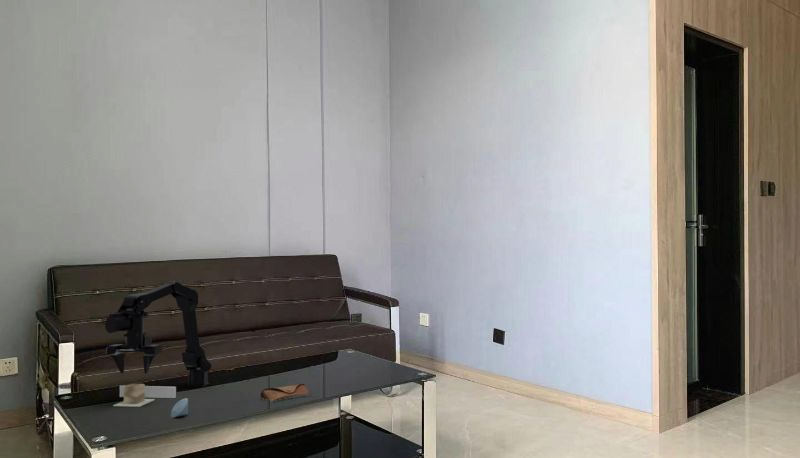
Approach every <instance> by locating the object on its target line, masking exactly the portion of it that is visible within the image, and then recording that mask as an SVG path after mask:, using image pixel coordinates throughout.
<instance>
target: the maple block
mask: <svg viewBox="0 0 800 458" xmlns="http://www.w3.org/2000/svg"><path fill="white" fill-rule="evenodd" d="M124 386H125V387H124V397H123V401H124V404H138V403H140V402H143V401H145V399H146V397H145V386H146V385H145V383H129V384H127V385H124Z"/></svg>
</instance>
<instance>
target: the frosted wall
mask: <svg viewBox="0 0 800 458" xmlns="http://www.w3.org/2000/svg"><path fill="white" fill-rule="evenodd" d="M125 386H126V385H119V398H124V387H125ZM145 398H148V399H153V398H155V399H156V398H158V399H160V398H161V399H176V398H177V386H160V385H157V386H155V385H152V386H150V385H145Z"/></svg>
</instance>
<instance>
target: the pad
mask: <svg viewBox="0 0 800 458" xmlns="http://www.w3.org/2000/svg"><path fill="white" fill-rule="evenodd" d="M155 399H156V398H155ZM155 399H153V398H145V401H143V402H140V403H138V404H124V400H123V401H120V402H118V403H115V404H113V405H112V406H113V407H130V408H131V407H132V408H133V407H134V408H140V407H142V406H144V405H147V404H149V403H151V402H154V401H155Z"/></svg>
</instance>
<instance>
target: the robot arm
mask: <svg viewBox="0 0 800 458" xmlns="http://www.w3.org/2000/svg"><path fill="white" fill-rule="evenodd" d="M169 295H170V296H171V297H172V298H174V299H175V302H176V305H177V307H178V308H179V309H180V312H181V313H182V320H183V321H182V322H183V328H184V336H185V344H186V347H185V350H184V351H182V352H181V356H182V363H183V365H184V366H185V370H186V371H189V374H188V375H187V376H188V379H187V380H188V382H187V383H188V385H187V387H189V388H204V387H205V386H208V385H210V382H208V372H209V371H210V370H211V368H212V364H211V363H210V361H209V360H208V359H207V357H206V354H205V353H206V352H205V350H204V348H203V347H202V346H201V344H200V340H199V339H200V338H199V337H200V336H199V330H198V322H197V314H196V309H197V306H198V305H199V292H198V291H197V290H195V289H192V288H190V287H188V286H186V285H183V284H181V283H180V282H179V281H167V282H166V283H164V284H161V285H159V286H157V287H154V288H152V289H150V290H147V291H145V292H140V293H139V292H138V293H133V294H128V295H125V297H124V298H123V301H122V303H121V305H120V306H119V308H118V309H117V311H116V312H115V313H114V312H113V313H109V314H108V317H107V318H106V320H105V322H104V329H105V330H106V332H107V333H109V334H115V333H123V332H124V333H123V337H125V344H123V343H122V344H121V343H120V344H119V343H115V344H111V345H108V346H107V347H106V348H105V354H106V355H108V356H109V357H111V358H112V360H113V362H114V363H115V364H116V366H117V369H118V370H119V372H120V374H124V372H125V371H124V370H125V357H126V352H127V353H132V352H133V353H144V355H143V356H142V358H143V372H144V374H145V375H146V374H148V372H149V370H150V367H151V364H152V363H153V360H154V358H155V357H157V356H159V354H160V353H163V346H162V345H161V344H152V340H153V338H151V337H149V336H146V331H144V317H148V316H149V314H148V313H147V312H146V311H145V310H146V309H147V308H148V307H149V306H150V305H151V304H152V303H154V302H156V301H157V300H160V299H162V298H165V297H167V296H169Z"/></svg>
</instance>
